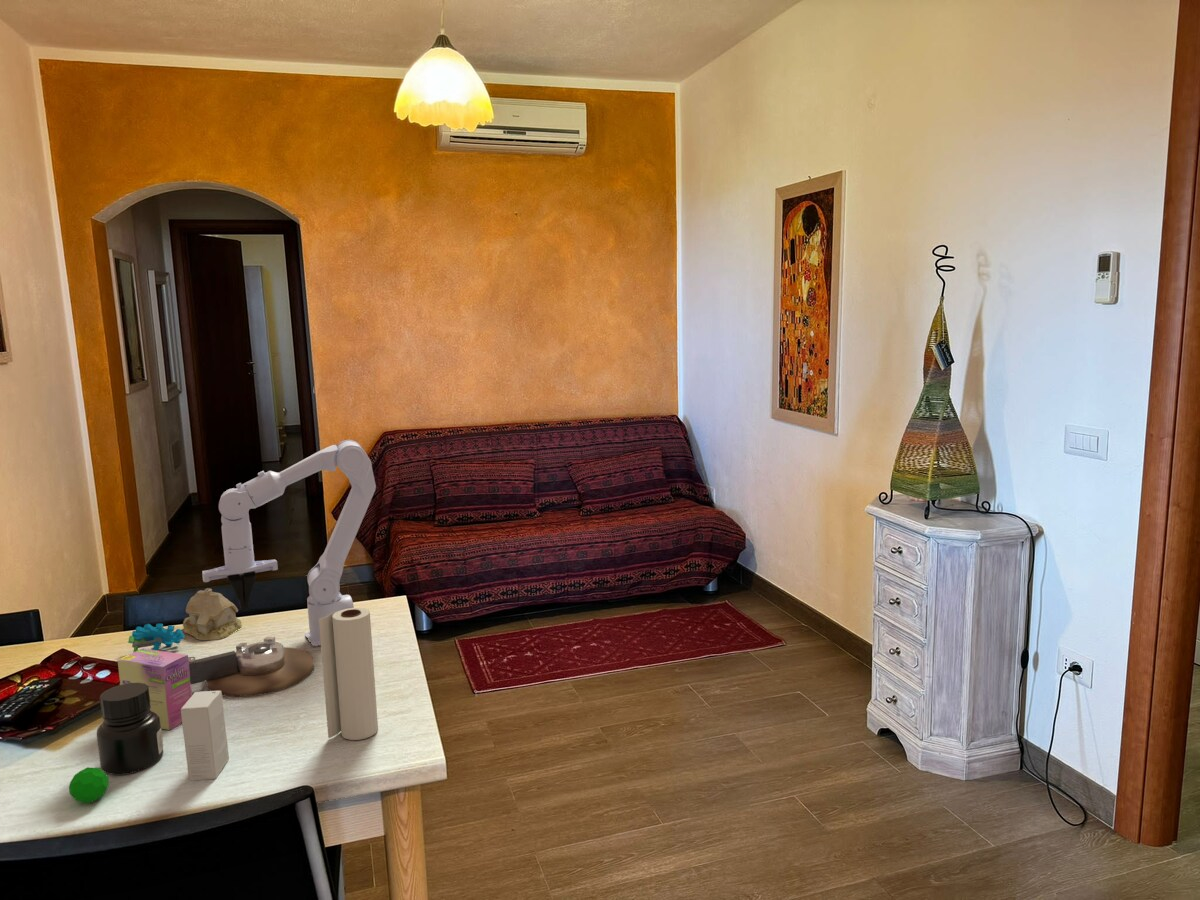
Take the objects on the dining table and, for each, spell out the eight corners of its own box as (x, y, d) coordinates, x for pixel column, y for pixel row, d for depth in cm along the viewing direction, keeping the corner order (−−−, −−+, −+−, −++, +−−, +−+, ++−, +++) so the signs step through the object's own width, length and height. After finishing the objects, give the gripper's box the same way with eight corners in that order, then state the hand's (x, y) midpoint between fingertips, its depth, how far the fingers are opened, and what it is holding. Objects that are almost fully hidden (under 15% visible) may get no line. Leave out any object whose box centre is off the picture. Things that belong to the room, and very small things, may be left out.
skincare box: (202, 761, 136) (194, 691, 134) (229, 759, 137) (222, 689, 135) (187, 781, 130) (179, 708, 128) (216, 779, 131) (208, 706, 129)
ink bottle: (177, 754, 139) (170, 685, 137) (128, 781, 131) (119, 708, 129) (137, 743, 143) (129, 675, 141) (86, 769, 135) (77, 698, 133)
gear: (193, 636, 186) (170, 617, 178) (189, 661, 183) (165, 643, 174) (144, 644, 186) (118, 625, 178) (139, 670, 183) (112, 652, 175)
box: (195, 716, 152) (188, 653, 150) (169, 731, 147) (162, 666, 145) (150, 708, 155) (143, 647, 153) (123, 722, 150) (116, 659, 148)
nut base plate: (301, 646, 183) (301, 639, 183) (325, 679, 166) (324, 671, 166) (200, 668, 172) (199, 661, 172) (214, 706, 156) (213, 697, 155)
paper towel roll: (384, 725, 147) (376, 607, 143) (367, 742, 141) (358, 619, 137) (346, 722, 148) (337, 605, 145) (328, 739, 142) (318, 617, 139)
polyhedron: (85, 812, 123) (81, 782, 122) (63, 805, 125) (59, 775, 124) (117, 794, 127) (114, 765, 126) (96, 787, 129) (92, 758, 128)
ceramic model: (253, 626, 196) (249, 585, 194) (212, 644, 186) (207, 600, 184) (211, 618, 202) (206, 578, 200) (169, 634, 192) (164, 592, 191)
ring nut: (277, 653, 175) (275, 630, 174) (290, 667, 168) (288, 643, 167) (182, 676, 165) (179, 652, 164) (191, 692, 158) (189, 667, 157)
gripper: (270, 536, 185) (276, 596, 187) (198, 547, 178) (204, 609, 180) (277, 543, 179) (282, 604, 182) (202, 555, 172) (209, 619, 174)
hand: (244, 607), depth 180 cm, fingers closed
